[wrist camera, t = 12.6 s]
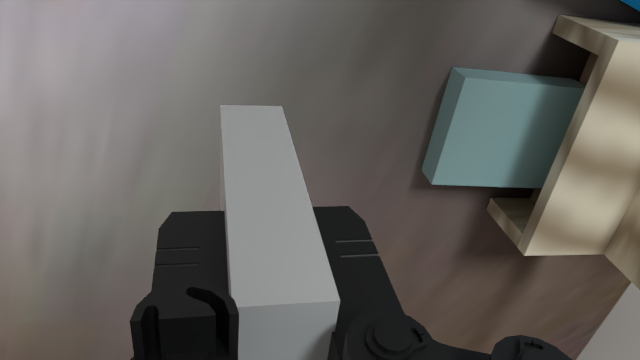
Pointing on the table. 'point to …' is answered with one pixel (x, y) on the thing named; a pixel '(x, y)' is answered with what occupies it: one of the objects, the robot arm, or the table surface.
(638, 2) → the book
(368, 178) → the table surface
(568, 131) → the shelf
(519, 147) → the teal square tile
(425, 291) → the table surface
